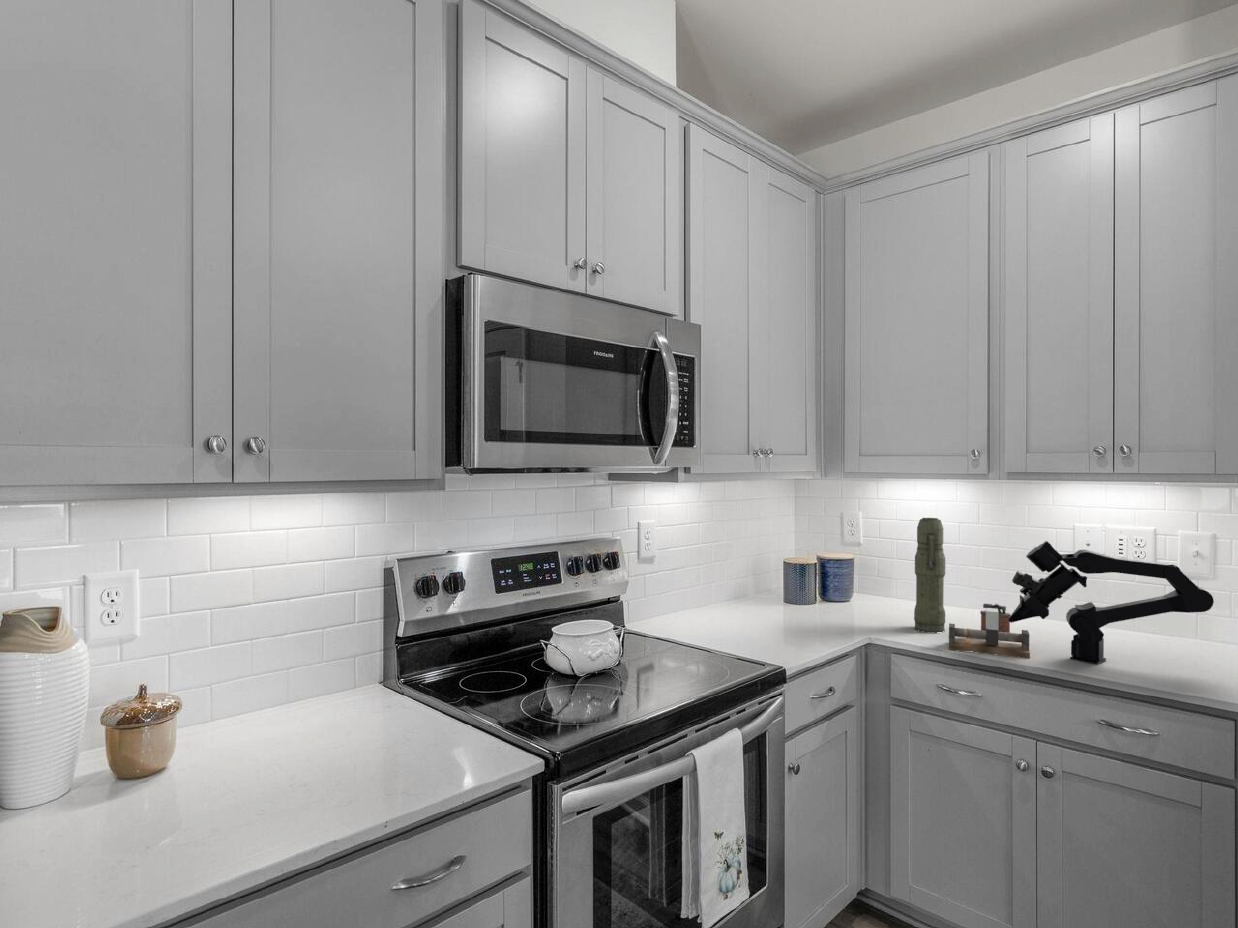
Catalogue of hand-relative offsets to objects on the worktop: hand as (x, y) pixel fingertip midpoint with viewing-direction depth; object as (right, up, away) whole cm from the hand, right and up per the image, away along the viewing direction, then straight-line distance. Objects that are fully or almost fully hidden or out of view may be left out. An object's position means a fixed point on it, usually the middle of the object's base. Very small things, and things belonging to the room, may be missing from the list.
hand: (1009, 620), depth 204 cm
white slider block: (-4, -7, +2) cm, 8 cm away
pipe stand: (-5, -9, +2) cm, 10 cm away
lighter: (+5, -9, +17) cm, 19 cm away
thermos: (-11, -9, +26) cm, 30 cm away
